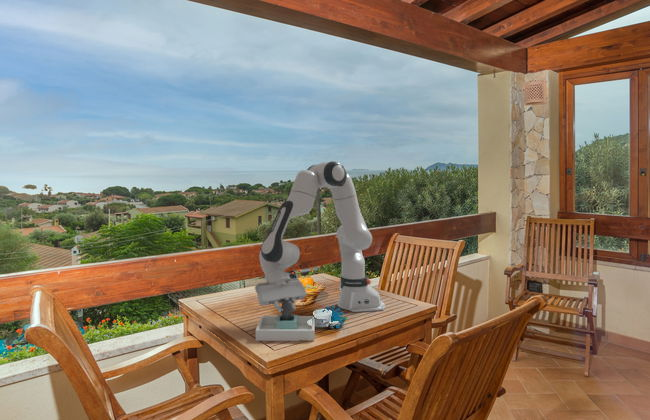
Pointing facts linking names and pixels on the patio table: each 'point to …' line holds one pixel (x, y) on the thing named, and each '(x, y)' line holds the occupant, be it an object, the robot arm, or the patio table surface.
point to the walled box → (285, 328)
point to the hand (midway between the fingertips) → (287, 310)
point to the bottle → (287, 310)
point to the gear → (337, 316)
